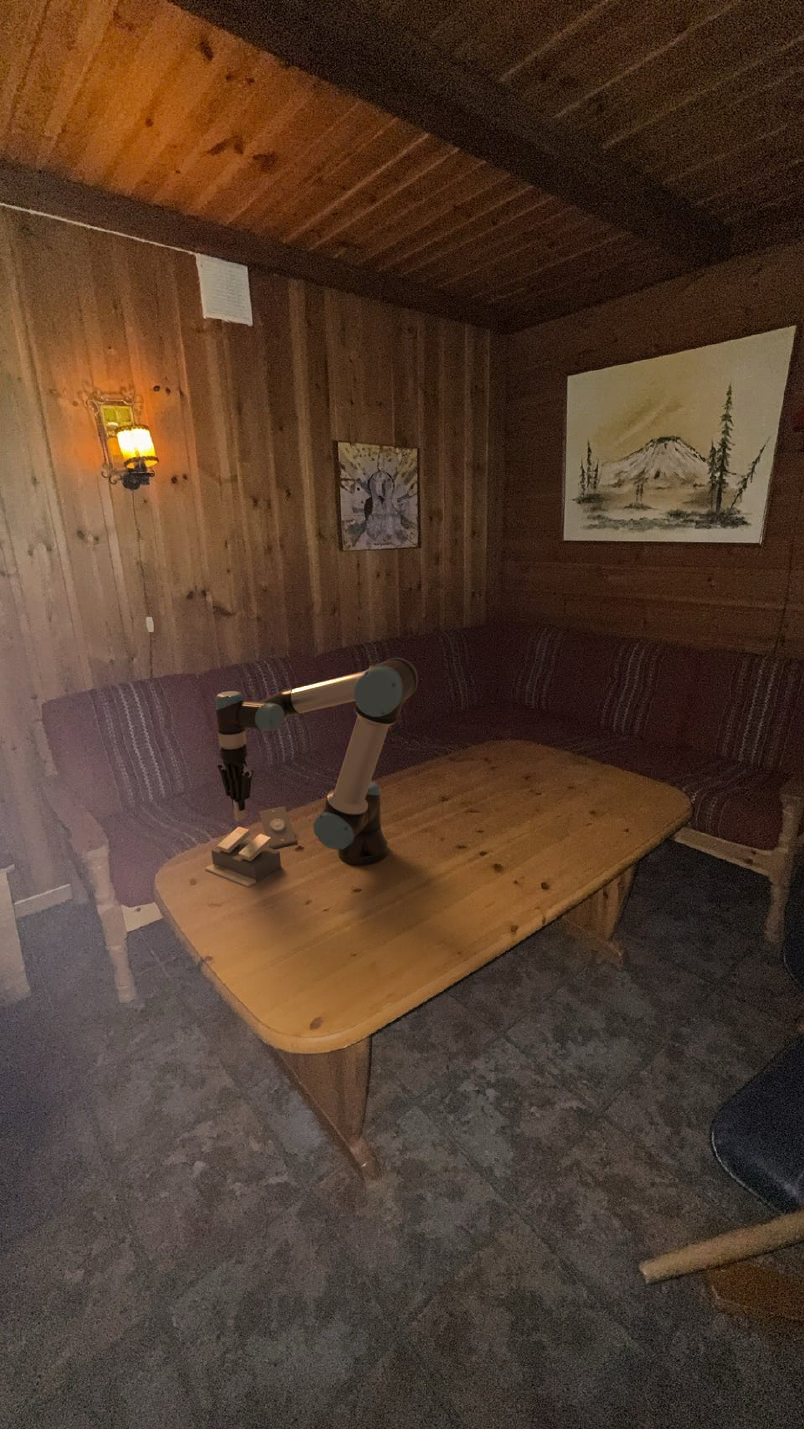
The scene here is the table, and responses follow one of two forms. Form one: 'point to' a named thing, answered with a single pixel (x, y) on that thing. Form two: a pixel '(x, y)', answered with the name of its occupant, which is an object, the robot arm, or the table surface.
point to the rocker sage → (255, 847)
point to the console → (244, 864)
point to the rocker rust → (233, 839)
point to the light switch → (277, 827)
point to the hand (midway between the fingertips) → (240, 819)
